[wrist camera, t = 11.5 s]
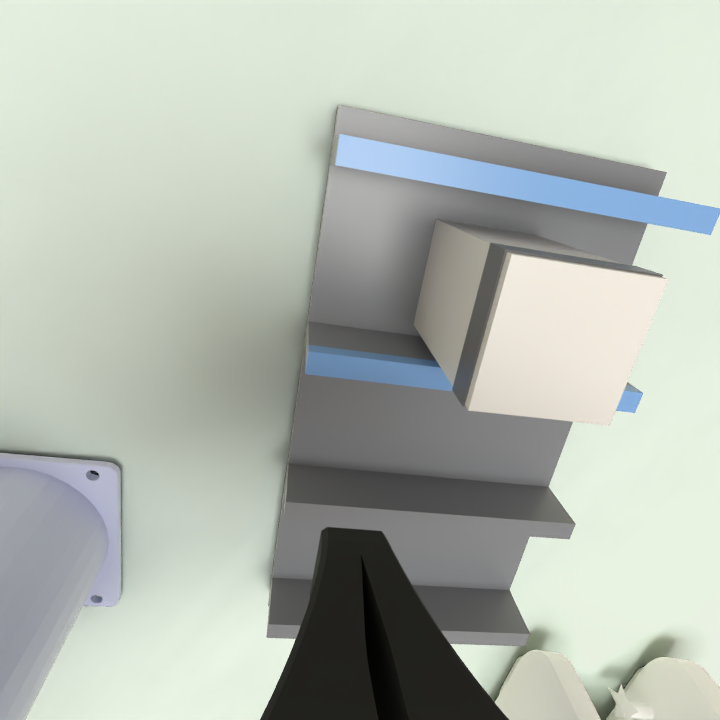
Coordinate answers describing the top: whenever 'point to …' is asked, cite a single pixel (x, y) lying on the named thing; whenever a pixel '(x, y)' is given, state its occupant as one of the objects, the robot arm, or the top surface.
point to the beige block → (533, 322)
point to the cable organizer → (633, 704)
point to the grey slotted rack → (435, 366)
